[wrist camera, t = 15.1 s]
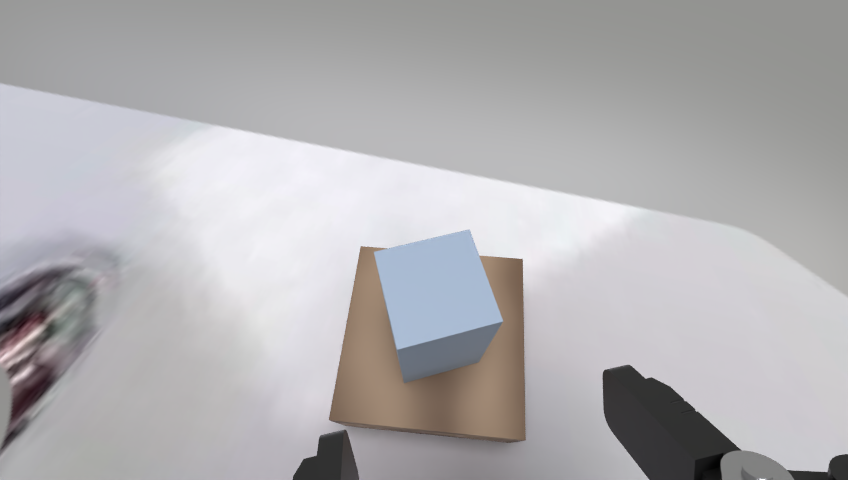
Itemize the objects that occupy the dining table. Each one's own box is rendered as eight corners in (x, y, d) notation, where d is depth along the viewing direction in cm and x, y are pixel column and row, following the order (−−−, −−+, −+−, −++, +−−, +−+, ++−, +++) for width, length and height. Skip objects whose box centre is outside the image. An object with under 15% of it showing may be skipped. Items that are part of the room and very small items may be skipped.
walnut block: (346, 425, 31) (328, 419, 26) (371, 276, 36) (360, 246, 31) (508, 442, 30) (525, 440, 25) (508, 288, 36) (522, 259, 30)
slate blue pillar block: (403, 383, 26) (397, 349, 18) (386, 309, 29) (373, 251, 21) (478, 362, 27) (503, 321, 19) (455, 292, 29) (469, 229, 21)
